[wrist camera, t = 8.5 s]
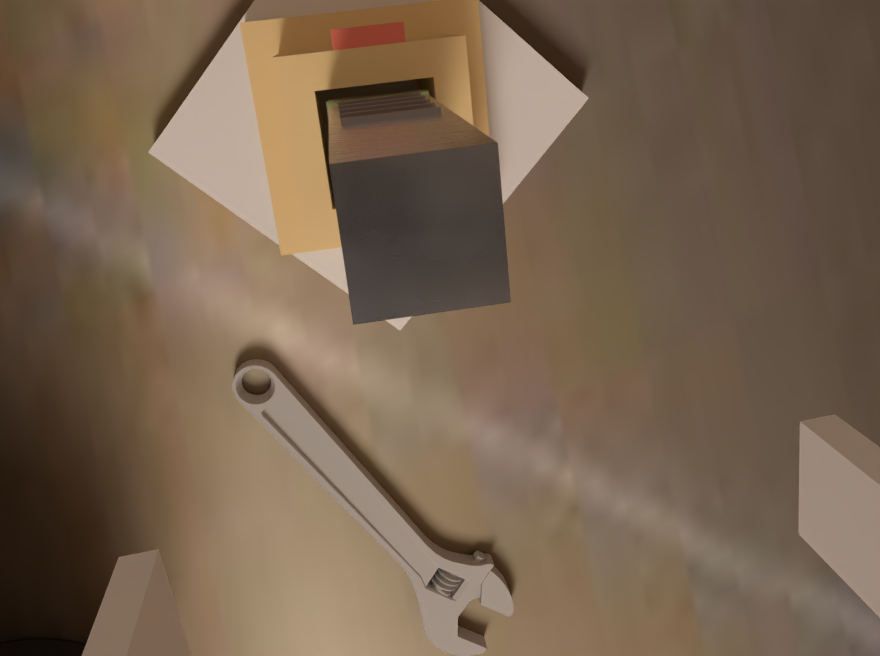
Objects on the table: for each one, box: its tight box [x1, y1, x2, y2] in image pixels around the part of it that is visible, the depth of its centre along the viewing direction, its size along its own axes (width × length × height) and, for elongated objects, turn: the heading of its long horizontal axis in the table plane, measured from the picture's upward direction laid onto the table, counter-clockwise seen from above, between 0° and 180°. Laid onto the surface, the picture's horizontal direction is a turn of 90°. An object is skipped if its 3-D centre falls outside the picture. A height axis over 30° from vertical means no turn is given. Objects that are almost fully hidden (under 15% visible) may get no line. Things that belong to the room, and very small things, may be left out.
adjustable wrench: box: [232, 359, 514, 656], centre depth 52 cm, size 25×6×2 cm, turn 32°
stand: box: [148, 0, 588, 330], centre depth 40 cm, size 23×23×9 cm
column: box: [326, 89, 511, 325], centre depth 28 cm, size 4×4×18 cm
